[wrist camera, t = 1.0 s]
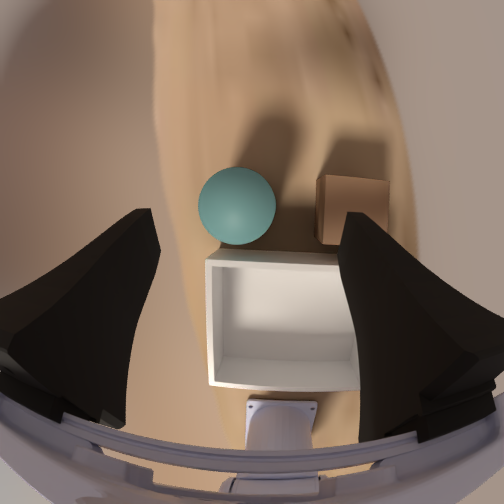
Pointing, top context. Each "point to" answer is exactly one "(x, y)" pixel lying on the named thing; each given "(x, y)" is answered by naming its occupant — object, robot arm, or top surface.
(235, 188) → the teal cylinder
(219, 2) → the top surface
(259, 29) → the top surface
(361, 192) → the walnut cube
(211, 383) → the tote
